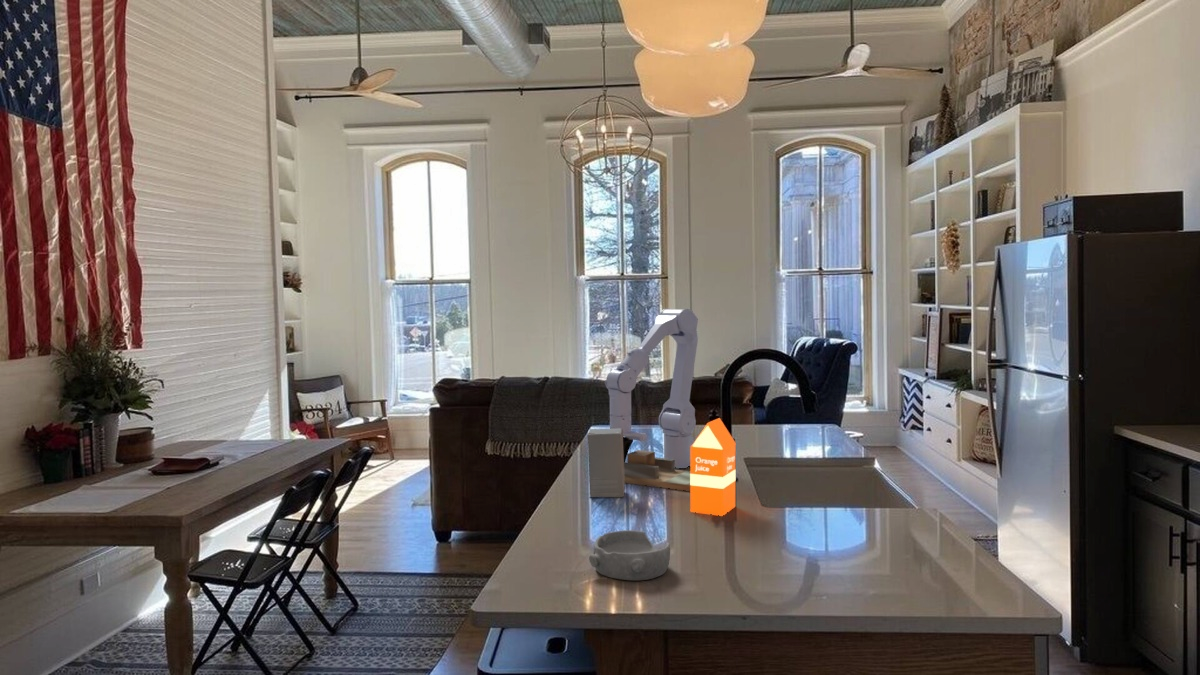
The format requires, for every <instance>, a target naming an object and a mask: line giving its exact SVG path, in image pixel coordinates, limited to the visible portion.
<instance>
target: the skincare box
mask: <svg viewBox="0 0 1200 675" xmlns="http://www.w3.org/2000/svg"><path fill="white" fill-rule="evenodd" d="M623 437H624V436H623V430H622V428H618V429H610V428H590V430H589V431H588V432H587V436H586V438H587V455H588V456H587V457H588V479H589V482H588V483H589V498H590V497H602V498H623V497H624V494H625V491H626V483H625V475H624V452H623Z"/></svg>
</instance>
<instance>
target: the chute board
mask: <svg viewBox="0 0 1200 675" xmlns="http://www.w3.org/2000/svg"><path fill="white" fill-rule="evenodd" d="M624 475H625V484H632V485H639V486H645V485H647V486H646V487H653V486H655V487H654V488H660V487H662V488H661V489H668V488H670V490H675V489H677V491H683V490H686V491H685V492H690V470H689V471H688V470H683V469H676V468H675V459H666V458H664V457H656V456H655V466H651V465H643V464H634V463H627V462H626V461H625V462H624Z"/></svg>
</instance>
